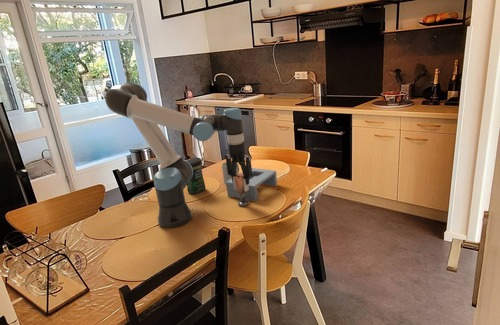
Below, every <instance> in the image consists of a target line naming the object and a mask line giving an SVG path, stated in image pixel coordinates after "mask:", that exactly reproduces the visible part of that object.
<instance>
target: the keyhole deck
mask: <svg viewBox="0 0 500 325" xmlns="http://www.w3.org/2000/svg"><path fill="white" fill-rule="evenodd" d="M240 173H243V172H242V171H241V172H240ZM249 182H250V183H249V184H248V185H249V190H248V191H247V192H245V193H244V194H245V199H246V200H247V201H250V202H251V201H252V202H257V201H258V200H259V198H258V197H259V195H258V188H257V187H259V186H260V185H267V186H273V187H276V186H278V178H277V170H272V169H263V168H255V167H252V176H251V177H249ZM225 185H226V191H227V197H229V196H231V197H230V198H234V197H236V199H240V193H237V192H236V190H234V183H233V182H232V179H230V180H228V181H227V182H226V184H225Z"/></svg>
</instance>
